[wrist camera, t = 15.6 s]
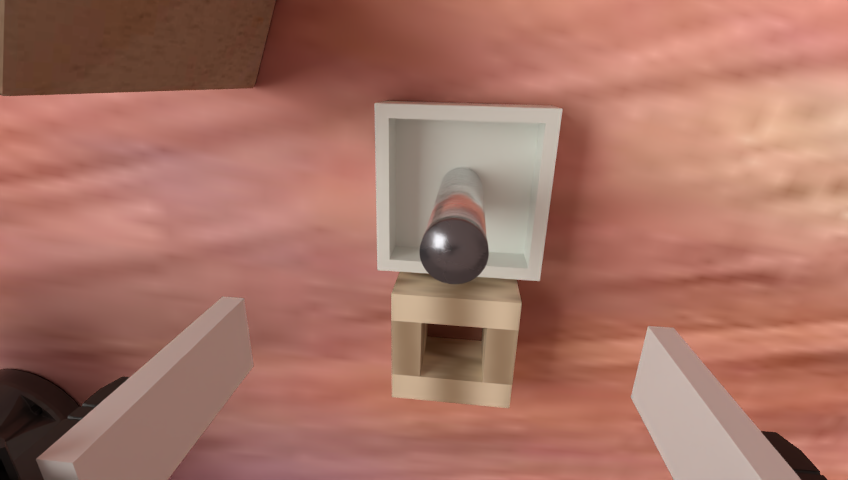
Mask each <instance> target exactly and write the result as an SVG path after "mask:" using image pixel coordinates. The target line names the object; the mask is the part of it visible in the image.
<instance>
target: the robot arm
mask: <svg viewBox="0 0 848 480" xmlns="http://www.w3.org/2000/svg"><path fill="white" fill-rule="evenodd" d="M253 366H254V364H253V357H252V350H251V343H250V336H249V329H248V322H247V315H246V308H245V301H244V298H236V297H221V298H220V299H219V300H218V301H217V302H216V303H215V304H213V305H212V306H211V307H210V308H209V309H208V310H206V311H205V312H204V313H203V314H202V315H201V316H200V317H198V318H197V319H196V320H195V321H194V322H193V323H192V324H190V325H189V326H188V327H187V328H186V329H185V330H184V331H182V332H181V333H180V334H179V335H178V336H177V337H175V338H174V339H173V340H172V341H171V342H170V343H169V344H167V345H166V346H165V347H164V348H163V349H162V350H161V351H159V352H158V353H157V354H156V355H155V356H154V357H153V358H151V359H150V360H149V361H148V362H147V363H146V364H144V365H143V366H142V367H141V368H140V369H139V370H138V371H136V372H135V373H134V374H133V375H132V376H131V377H121V378H119V379H118V380H116V381H114V382H112V383H110V384H108V385H106V386H105V387H103V388H101V389H100V390H98V391H97V392H96V393H95V394H94V395H92V396H91V397H90V398H89V399H88V400H86V401H85V402H84V403H83V405H82V407H79V406H78V405H77V404H76V402H75V401H74V400H73V399H72V398H71V397H70V396H68V395H67V394H66V393H65V392H64V391H62V390H61V389H60V388H58V387H57V386H55V385H54V384H52V383H51V382H49V381H47V380H45V379H43V378H41V377H39V376H36V375H34V374H31V373H28V372H24V371H19V370H10V369H4V370H0V480H168V479H169V478H170V476H171V475H172V474H173V472H174V471H175V470H176V468H177V467H178V466H179V464H180V463H181V462H182V460H183V459H184V458H185V456H186V455H187V454H188V452H189V451H190V450H191V448H192V447H193V446H194V444H195V443H196V442H197V441H198V439H199V438H200V437H201V435H202V434H203V433H204V431H205V430H206V429H207V427H208V426H209V425H210V423H211V422H212V421H213V419H214V418H215V417H216V415H217V414H218V413H219V411H220V410H221V409H222V407H223V406H224V405H225V403H226V402H227V401H228V399H229V398H230V397H231V396H232V394H233V393H234V392H235V390H236V389H237V388H238V386H239V385H240V384H241V382H242V381H243V380H244V378H245V377H246V376H247V374H248V373H249V372H250V370H251V369H252V368H253ZM631 399H632V400H633V402H634V404H635V406H636V408H637V410H638V412H639V414H640V416H641V418H642V420H643V422H644V424H645V426H646V427H647V429H648V431H649V433H650V435H651V437H652V439H653V441H654V443H655V445H656V447H657V449H658V451H659V453H660V454H661V456H662V458H663V460H664V462H665V464H666V466H667V468H668V470H669V472H670V474H671V476H672V478H673V480H827V479H826V478H825V477H824V475H820V471H819V470H818V469H817V468H816V467H815V466H814V464H813V463H812V462H811V461H810V460H809V459H808V458H807V457H806V456H805V454H804V453H803V452H802V451H801V450H799V449H798V448H797V447H795V446H794V445H793V444H791V443H790V442H788V441H787V440H786V439H784V438H783V437H782V436H780V435H779V434H778V433H776V432H765V431H760V430H759V429H758V428H757V426H756V425H755V424H754V423H753V422H752V420H751V419H750V418H749V417H748V416H747V415H746V413H745V412H744V411H743V410H742V409H741V407H740V406H739V405H738V404H737V403H736V401H735V400H734V399H733V398H732V397H731V395H730V394H729V393H728V392H727V391H726V390H725V388H724V387H723V386H722V385H721V384H720V382H719V381H718V380H717V379H716V378H715V376H714V375H713V374H712V373H711V372H710V370H709V369H708V368H707V367H706V366H705V365H704V363H703V362H702V361H701V360H700V359H699V357H698V356H697V355H696V354H695V353H694V351H693V350H692V349H691V348H690V347H689V346H688V344H687V343H686V342H685V341H684V340H683V338H682V337H681V336H680V335H679V334H678V332H677V331H676V330H675V329H674V328H669V327H655V326H648V328H647V332H646V336H645V341H644V345H643V349H642V353H641V357H640V361H639V366H638V370H637V374H636V378H635V382H634V386H633V390H632V395H631Z"/></svg>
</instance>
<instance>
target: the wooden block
mask: <svg viewBox="0 0 848 480" xmlns="http://www.w3.org/2000/svg"><path fill="white" fill-rule="evenodd" d="M275 2H276V0H0V95H2V96H22V95H53V94H84V93H114V92H145V91H176V90H206V89H237V88H253V87H254V85H255V83H256V79H257V75H258V71H259V67H260V63H261V59H262V55H263V51H264V47H265V43H266V38H267V34H268V30H269V26H270V22H271V18H272V14H273V10H274V6H275Z"/></svg>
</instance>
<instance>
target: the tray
mask: <svg viewBox="0 0 848 480" xmlns="http://www.w3.org/2000/svg"><path fill="white" fill-rule="evenodd" d="M374 104H375V159H376V213H377V268H378V270H383V271H398V272H413V273H427V274H429V273H428V272H427V271H426V270H425V268H424V267H423V265H422V262H421V259H420V244H421V241H422V238H423V235H424V233H425V231H426V228H427V225H428V222H429V219H430V216H431V213H432V210H433V207H434V203H435V200H436V197H437V194H438V191H439V188H440V185H441V182H442V179H443V177H444V176H445V174H446V173H447V172H449V171H450V170H452V169H454V168H457V167H466V168H469V169H471V170H473V171H475V172H476V173H477V174H478V175H479V177H480V179H481V181H482V187H483V199H484V212H485V224H486V237H487V241H488V249H489V256H488V261H487V264H486V266H485V268H484V270H483V271H482V272H481V274H480V275H478V276H477V277H487V278H501V279H516V280H531V281H540V276H541V268H542V261H543V253H544V246H545V238H546V230H547V223H548V215H549V208H550V200H551V193H552V185H553V178H554V170H555V163H556V155H557V148H558V140H559V132H560V125H561V117H562V110H563V109H562V108H559V107H556V106H553V105H518V104H484V103H449V102H414V101H382V102H377V103H374Z"/></svg>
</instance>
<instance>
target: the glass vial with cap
mask: <svg viewBox="0 0 848 480" xmlns="http://www.w3.org/2000/svg"><path fill="white" fill-rule="evenodd" d="M488 256H489V249H488V241H487V237H486V224H485V212H484V199H483V187H482V181H481V179H480V177H479V175H478V174H477V173H476V172H475V171H473V170H471V169H469V168H466V167H457V168H454V169H452V170H450V171H449V172H447V173H446V174H445V176H444V177H443V179H442V182H441V185H440V188H439V191H438V194H437V197H436V200H435V203H434V207H433V210H432V213H431V216H430V219H429V222H428V225H427V228H426V231H425V233H424V235H423V238H422V241H421V244H420V259H421V262H422V265H423V267H424V268H425V270H426V271H427V272H428V273H429V274H430V275H431V276H432V277H433V278H435V279H436V280H438V281H441V282H443V283H447V284H463V283H466V282H469V281H471V280H473V279H475V278H476V277H477V276H478V275H480V274H481V272H482V271H483V270H484V268H485V266H486V264H487V261H488Z"/></svg>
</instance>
